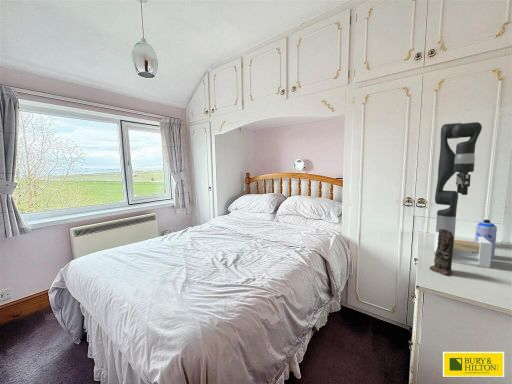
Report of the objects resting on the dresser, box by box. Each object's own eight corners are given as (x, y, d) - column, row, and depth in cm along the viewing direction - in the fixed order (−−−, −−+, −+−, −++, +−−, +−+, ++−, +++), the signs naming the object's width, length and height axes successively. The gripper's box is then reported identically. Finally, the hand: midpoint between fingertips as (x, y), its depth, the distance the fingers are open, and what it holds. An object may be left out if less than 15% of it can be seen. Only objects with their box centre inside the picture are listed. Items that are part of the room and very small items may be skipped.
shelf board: (442, 244, 119) (442, 237, 118) (478, 249, 110) (478, 242, 110) (442, 247, 114) (443, 240, 114) (480, 252, 106) (481, 245, 106)
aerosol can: (499, 259, 112) (502, 221, 110) (481, 258, 113) (484, 221, 111) (486, 254, 119) (489, 218, 117) (469, 253, 121) (472, 218, 119)
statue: (429, 269, 103) (431, 228, 101) (438, 266, 105) (441, 226, 103) (445, 276, 96) (449, 232, 94) (455, 273, 99) (458, 230, 97)
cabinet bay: (433, 252, 123) (435, 231, 122) (481, 259, 113) (483, 236, 112) (437, 260, 113) (439, 237, 112) (489, 268, 103) (492, 243, 102)
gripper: (451, 163, 120) (449, 192, 121) (458, 162, 108) (455, 195, 109) (470, 162, 116) (467, 192, 117) (479, 162, 104) (476, 195, 105)
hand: (461, 193), depth 113 cm, fingers open, 8 cm apart
